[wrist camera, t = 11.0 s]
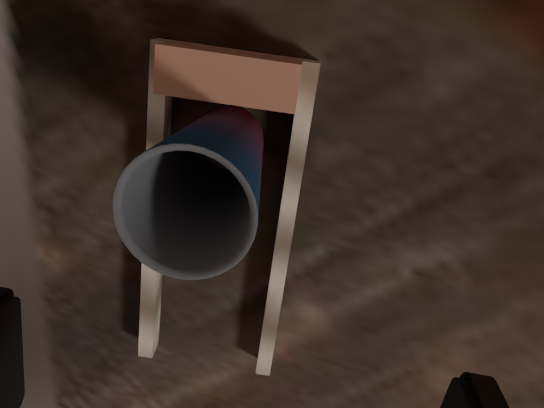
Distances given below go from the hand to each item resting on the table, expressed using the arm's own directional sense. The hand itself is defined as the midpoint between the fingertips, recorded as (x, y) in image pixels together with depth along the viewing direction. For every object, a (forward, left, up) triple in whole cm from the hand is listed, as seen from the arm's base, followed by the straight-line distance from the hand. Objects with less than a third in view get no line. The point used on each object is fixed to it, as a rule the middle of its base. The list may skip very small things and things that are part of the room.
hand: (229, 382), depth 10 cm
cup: (+2, -4, -27) cm, 27 cm away
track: (+8, -4, -27) cm, 28 cm away
